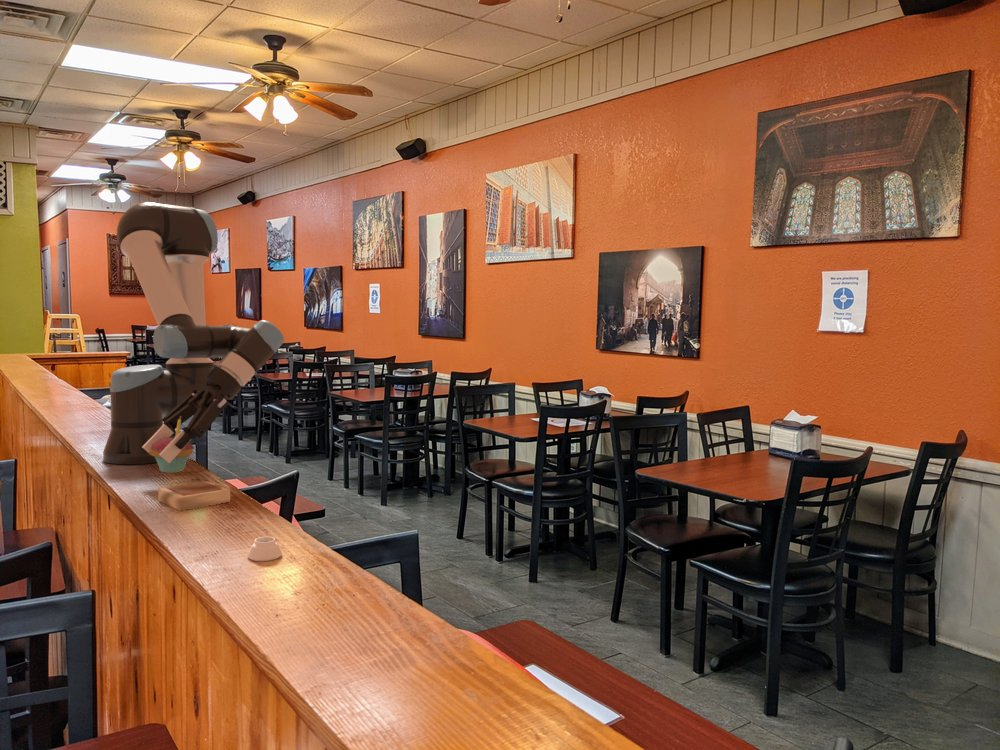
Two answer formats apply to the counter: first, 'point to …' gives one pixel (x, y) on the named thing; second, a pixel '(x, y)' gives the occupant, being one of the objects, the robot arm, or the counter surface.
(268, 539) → the lidless jar
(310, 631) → the counter surface
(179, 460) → the cupcake
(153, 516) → the counter surface
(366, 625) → the counter surface
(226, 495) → the square tray
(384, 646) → the counter surface
